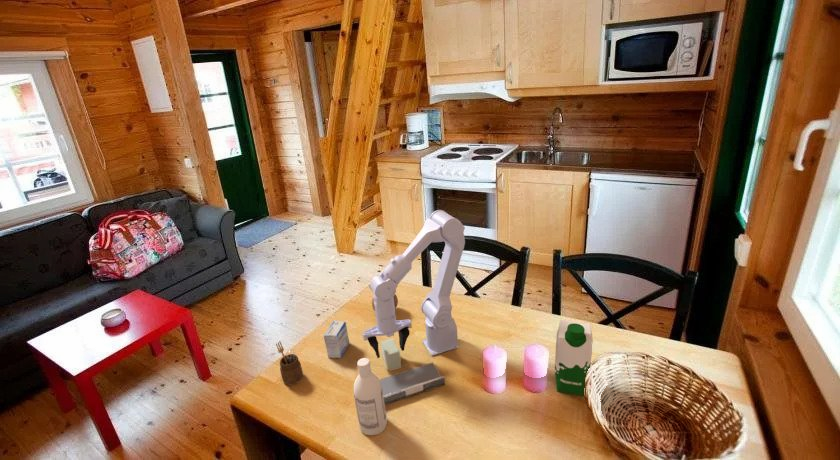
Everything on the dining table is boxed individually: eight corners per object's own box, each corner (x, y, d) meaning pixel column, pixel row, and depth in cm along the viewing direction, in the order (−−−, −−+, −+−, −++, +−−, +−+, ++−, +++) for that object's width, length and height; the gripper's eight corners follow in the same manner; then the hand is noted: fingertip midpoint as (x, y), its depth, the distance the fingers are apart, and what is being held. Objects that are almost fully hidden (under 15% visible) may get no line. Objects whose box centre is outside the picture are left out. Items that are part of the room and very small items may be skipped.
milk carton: (553, 393, 107) (557, 331, 100) (554, 370, 115) (558, 311, 108) (588, 400, 105) (595, 336, 97) (587, 375, 112) (593, 315, 105)
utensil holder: (292, 388, 117) (284, 354, 112) (278, 381, 120) (269, 348, 115) (307, 375, 121) (300, 342, 117) (293, 368, 124) (285, 336, 120)
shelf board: (432, 364, 121) (432, 357, 120) (445, 384, 113) (444, 377, 112) (368, 385, 115) (367, 378, 115) (376, 408, 107) (375, 401, 106)
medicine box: (340, 358, 127) (336, 336, 124) (327, 357, 128) (323, 335, 125) (349, 342, 134) (346, 321, 131) (337, 342, 135) (333, 320, 132)
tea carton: (394, 353, 128) (392, 337, 125) (401, 367, 121) (399, 351, 119) (381, 357, 126) (379, 341, 124) (388, 371, 120) (386, 355, 118)
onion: (382, 325, 147) (372, 310, 140) (374, 307, 154) (364, 292, 147) (405, 311, 148) (395, 296, 141) (396, 294, 155) (386, 279, 148)
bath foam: (373, 409, 107) (364, 348, 100) (392, 422, 103) (384, 359, 95) (354, 427, 102) (342, 364, 95) (373, 441, 98) (362, 376, 90)
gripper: (364, 328, 112) (370, 367, 117) (413, 315, 116) (417, 353, 121) (358, 315, 118) (364, 353, 123) (405, 303, 122) (409, 340, 127)
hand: (390, 352), depth 122 cm, fingers open, 7 cm apart
